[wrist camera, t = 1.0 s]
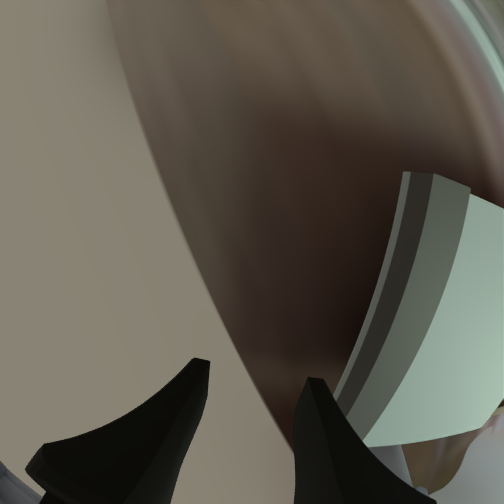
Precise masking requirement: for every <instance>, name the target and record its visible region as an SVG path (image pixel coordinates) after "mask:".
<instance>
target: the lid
mask: <svg viewBox="0 0 504 504" xmlns="http://www.w3.org/2000/svg"><path fill="white" fill-rule="evenodd" d="M470 191H471V188H469V187H467V186H465V185H462V184H460V183H458V182H455V181H453V180H450V179H448V178H445V177H442V176H440V175H437V174H434V173H422V172H404V171H403V176H402V182H401V188H400V193H399V198H398V203H397V208H396V213H395V218H394V222H393V226H392V231H391V235H390V239H389V243H388V247H387V250H386V254H385V258H384V261H383V265H382V268H381V272H380V275H379V278H378V282H377V285H376V288H375V291H374V294H373V297H372V300H371V303H370V306H369V309H368V312H367V315H366V318H365V320H364V323H363V326H362V328H361V331H360V334H359V336H358V339H357V341H356V344H355V346H354V349H353V351H352V354H351V356H350V359H349V361H348V363H347V366H346V368H345V370H344V372H343V375H342V377H341V379H340V381H339V383H338V386H337V388H336V390H335V392H334V394H333V397H334V399H335V401H336V402H337V404H338V406H339V407H340V409H341V411H342V412H343V414H344V415H345V417H346V419H347V420H348V422H349V423H350V425H351V426H352V428H353V429H354V430H355V432H356V433H357V435H358V436H359V437H360V439H361V440H362V441H363V442H364V444H365V445H366V446H367V447H378V446H389V445H399V444H407V443H414V442H420V441H426V440H432V439H437V438H442V437H446V436H451V435H455V434H459V433H463V432H467V431H471V430H474V429H478V428H481V427H482V426H483V425H484V423H485V422H486V421H487V420H488V418H489V417H490V416H491V415H492V413H493V412H494V411H495V409H496V408H497V407H498V405H499V404H500V403H501V401H502V400H503V399H504V209H503V208H501V207H499V206H497V205H494V204H492V203H490V202H488V201H486V200H483V199H481V198H479V197H477V196H474V195H472V194H470Z"/></svg>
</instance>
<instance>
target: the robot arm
mask: <svg viewBox="0 0 504 504" xmlns="http://www.w3.org/2000/svg"><path fill="white" fill-rule="evenodd" d="M209 369H210V361H208V360H203V359H199V358H193V359H191V361H190V362H189V363H188V364H187V365H186V366H185V367H184V368H183V369H182V370H181V371H180V372H179V373H178V374H177V375H176V376H175V377H174V378H173V379H172V380H171V381H170V382H169V383H168V384H166V385H165V386H164V387H163V388H162V389H161V390H160V391H158V392H157V393H156V394H154V395H153V396H152V397H151V398H149V399H148V400H147V401H145V402H144V403H143V404H141V405H140V406H138V407H137V408H135V409H134V410H132V411H130V412H129V413H128V414H125V415H124V416H122V417H120V418H118V419H116V420H114V421H113V422H111V423H109V424H106V425H104V426H102V427H100V428H97V429H95V430H92V431H89V432H87V433H84V434H81V435H78V436H75V437H72V438H69V439H64V440H60V441H56V442H51V443H45V444H43V446H42V447H41V448H40V449H39V450H38V451H37V452H36V454H35V455H34V456H33V458H32V459H31V461H30V462H29V463H28V465H27V466H26V468H25V470H26V472H27V474H28V475H29V476H30V477H31V478H32V479H33V480H34V481H35V482H36V483H37V484H38V485H40V486H41V487H42V488H43V489H44V490H45V491H46V493H45V495H44V496H43V497H41V496H40V495H39V494H38V493H36V492H35V491H34V490H32V489H31V488H30V487H28V486H27V485H26V484H25V483H23V482H22V481H21V480H20V479H18V478H17V477H16V476H15V475H14V474H13V473H11V472H10V471H9V470H8V469H7V468H6V467H5V465H4V464H3V463H2V462H1V461H0V504H170V503H171V499H172V495H173V492H174V488H175V485H176V481H177V478H178V474H179V471H180V468H181V465H182V463H183V460H184V457H185V455H186V453H187V450H188V448H189V446H190V443H191V441H192V439H193V436H194V434H195V432H196V429H197V427H198V425H199V422H200V420H201V417H202V414H203V410H204V407H205V403H206V400H207V395H208V381H209ZM293 439H294V458H295V496H294V504H437V502H436V501H435V500H434V499H432V498H430V497H429V496H428V492H427V489H426V488H422V487H421V486H420V487H417V488H415V489H414V487H413V485H412V483H411V479H410V476H409V472H408V468H407V465H406V461H405V458H404V455H403V451H402V448H401V445H400V444H399V445H389V446H378V447H367V446H366V445H365V444H364V442H363V441H362V440H361V439H360V437H359V436H358V435H357V433H356V432H355V430H354V429H353V428H352V426H351V425H350V423H349V422H348V420H347V419H346V417H345V415H344V414H343V412H342V411H341V409H340V407H339V406H338V404H337V402H336V401H335V399H334V397H333V395H332V393H331V392H330V390H329V388H328V386H327V384H326V382H325V381H324V379H322V378H311V377H308V378H307V380H306V383H305V386H304V388H303V391H302V393H301V396H300V399H299V401H298V403H297V406H296V408H295V413H294V427H293Z"/></svg>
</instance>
